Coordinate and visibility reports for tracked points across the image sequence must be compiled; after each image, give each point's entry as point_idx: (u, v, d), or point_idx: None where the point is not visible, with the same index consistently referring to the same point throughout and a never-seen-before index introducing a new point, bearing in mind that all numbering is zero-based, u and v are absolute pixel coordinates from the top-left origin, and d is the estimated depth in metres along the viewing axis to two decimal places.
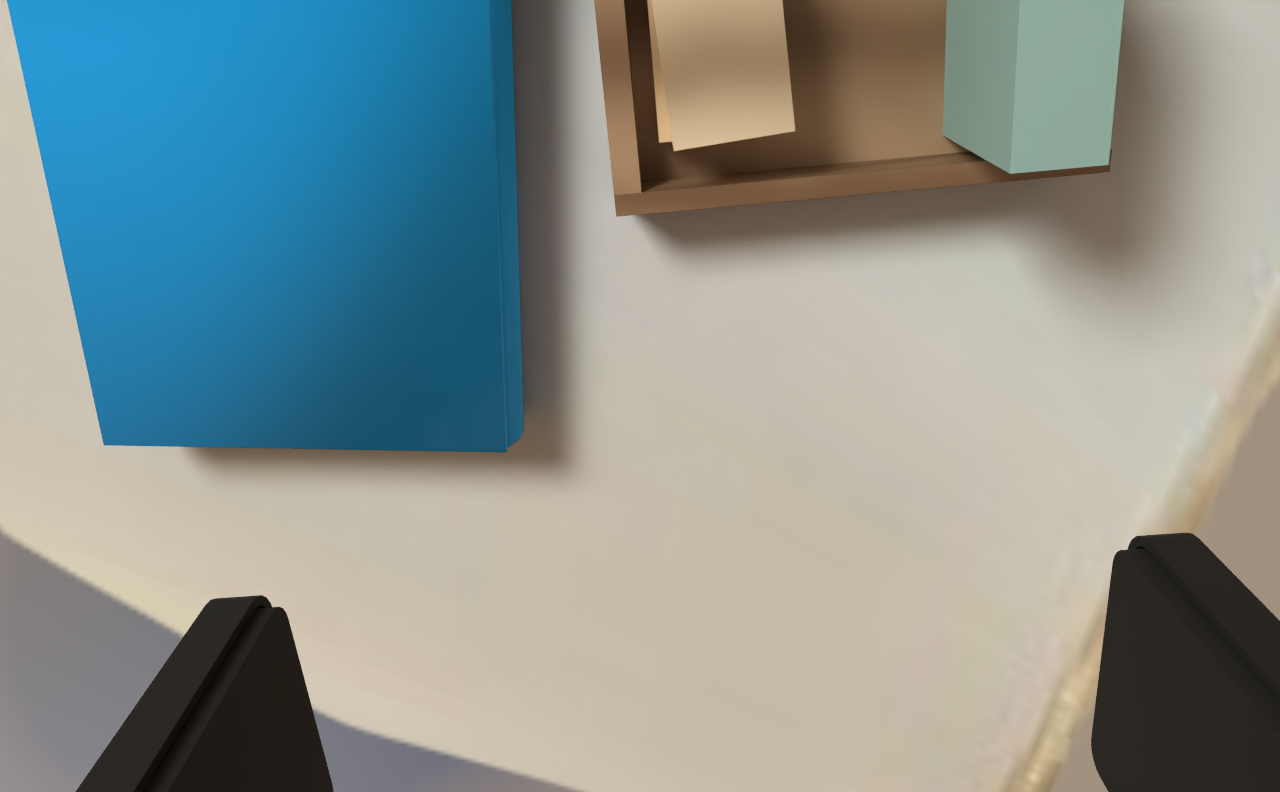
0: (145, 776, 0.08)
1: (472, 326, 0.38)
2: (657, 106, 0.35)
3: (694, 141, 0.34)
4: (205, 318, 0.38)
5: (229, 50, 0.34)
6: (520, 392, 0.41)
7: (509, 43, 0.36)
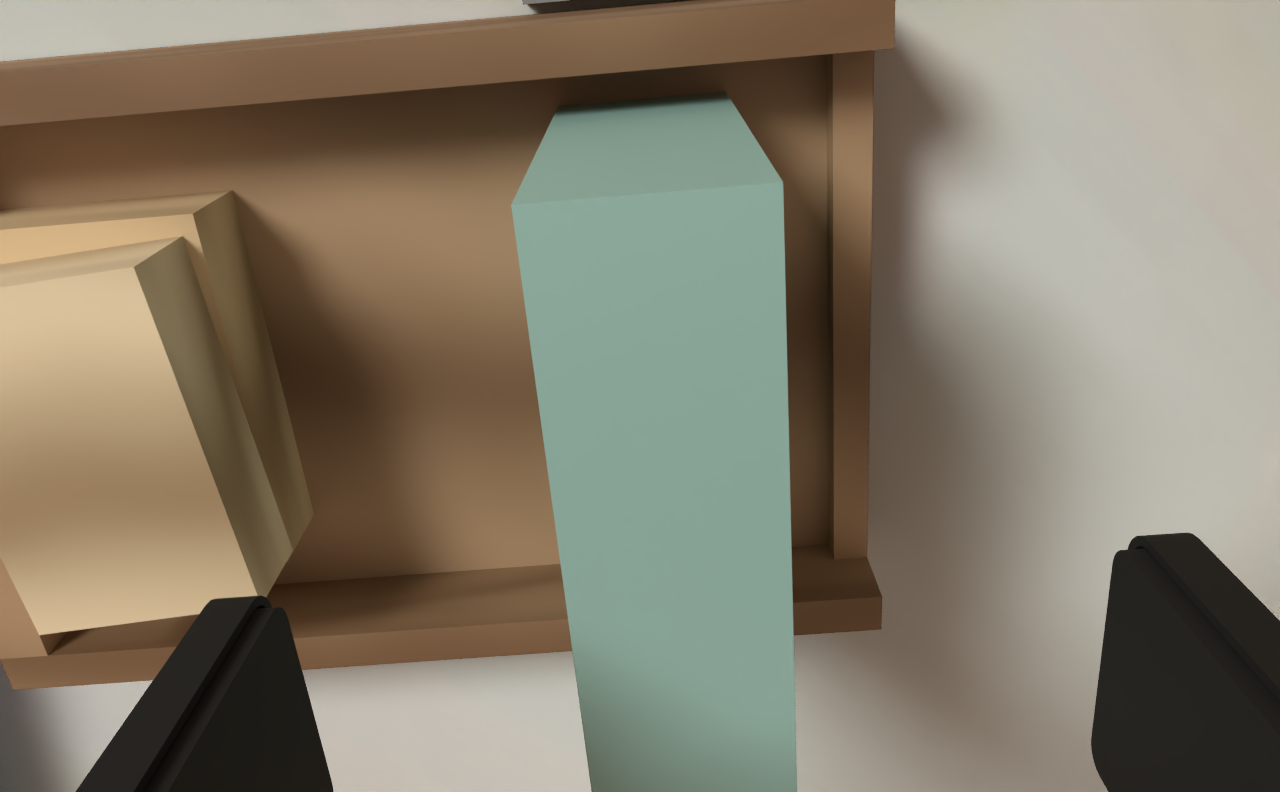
0: (144, 776, 0.08)
1: None
2: None
3: (73, 620, 0.18)
4: None
5: None
6: None
7: None
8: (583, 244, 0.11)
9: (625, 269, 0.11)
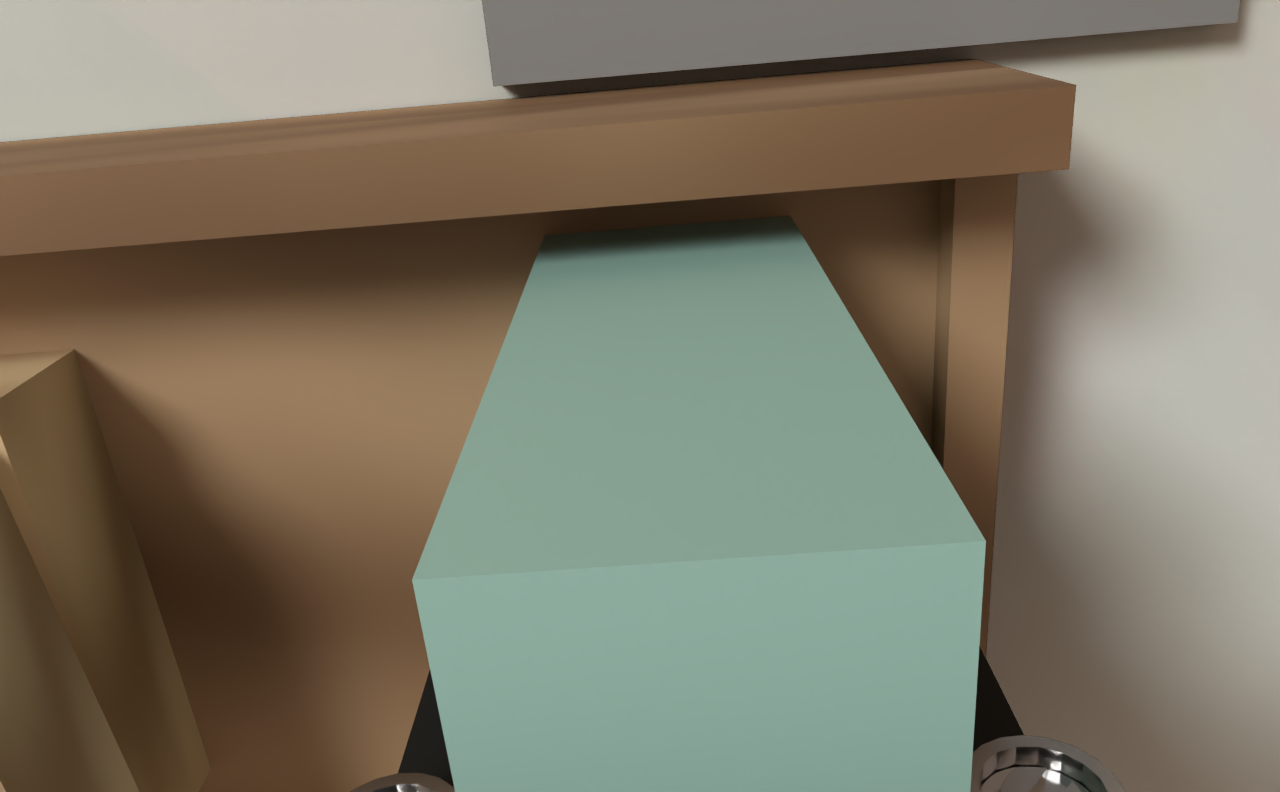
0: None
1: None
2: None
3: None
4: None
5: None
6: None
7: None
8: (563, 650, 0.05)
9: (648, 694, 0.06)
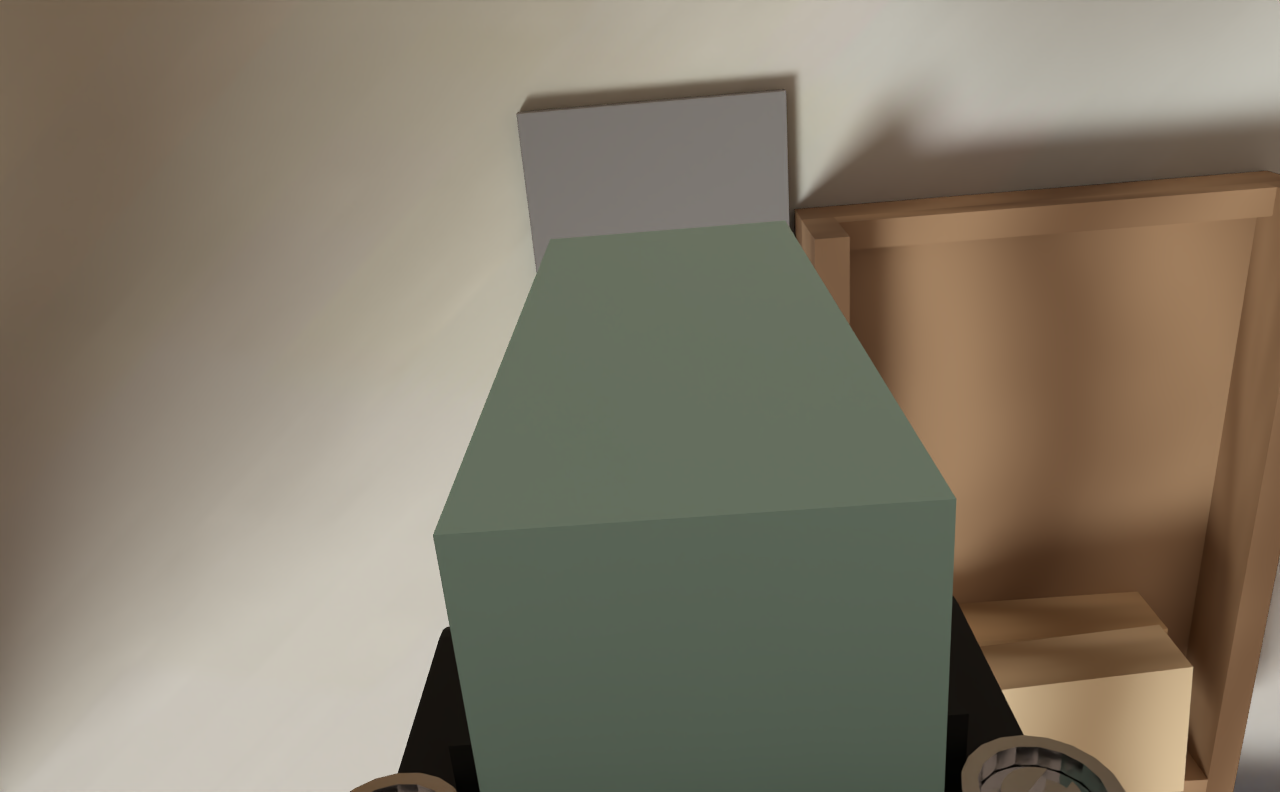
0: None
1: None
2: None
3: (1177, 771, 0.27)
4: None
5: None
6: None
7: None
8: (571, 601, 0.06)
9: (649, 642, 0.06)
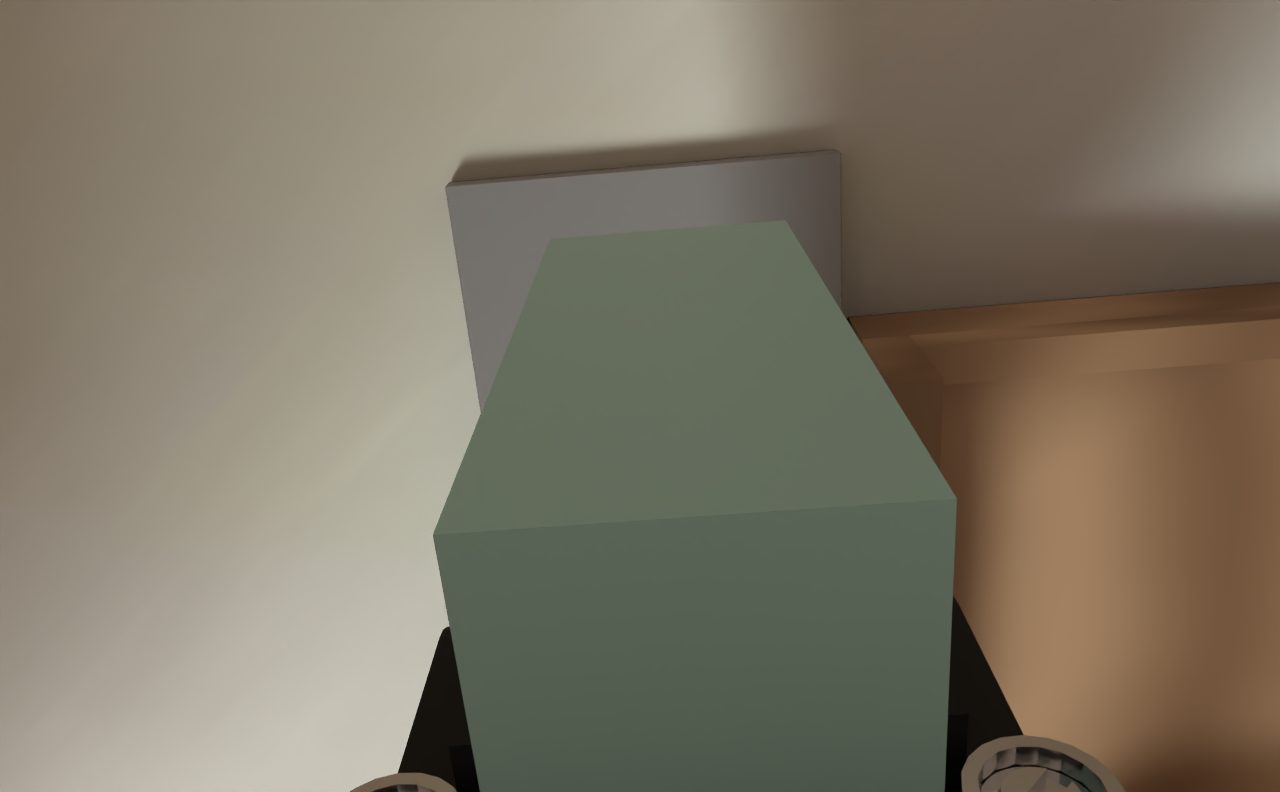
0: None
1: None
2: None
3: None
4: None
5: None
6: None
7: None
8: (570, 601, 0.06)
9: (649, 642, 0.06)
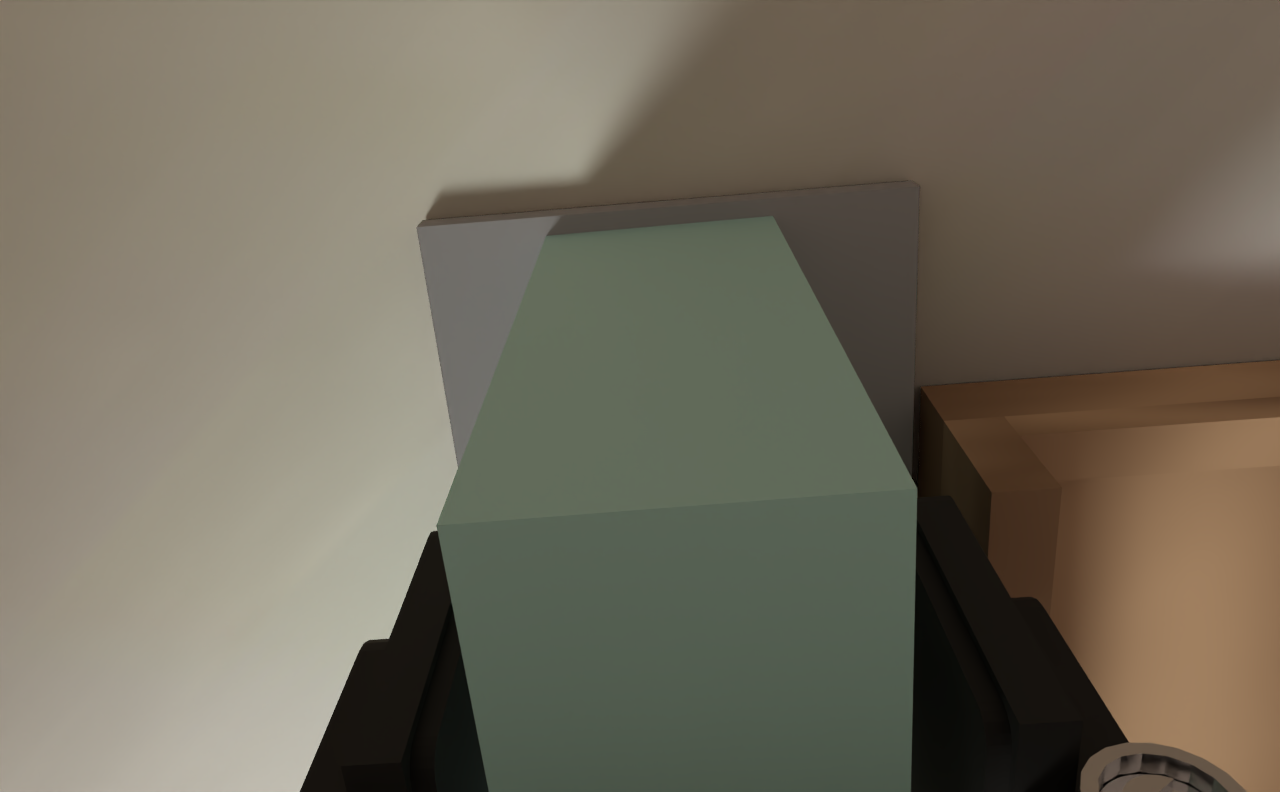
0: (425, 673, 0.09)
1: None
2: None
3: None
4: None
5: None
6: None
7: None
8: (564, 586, 0.06)
9: (636, 621, 0.07)
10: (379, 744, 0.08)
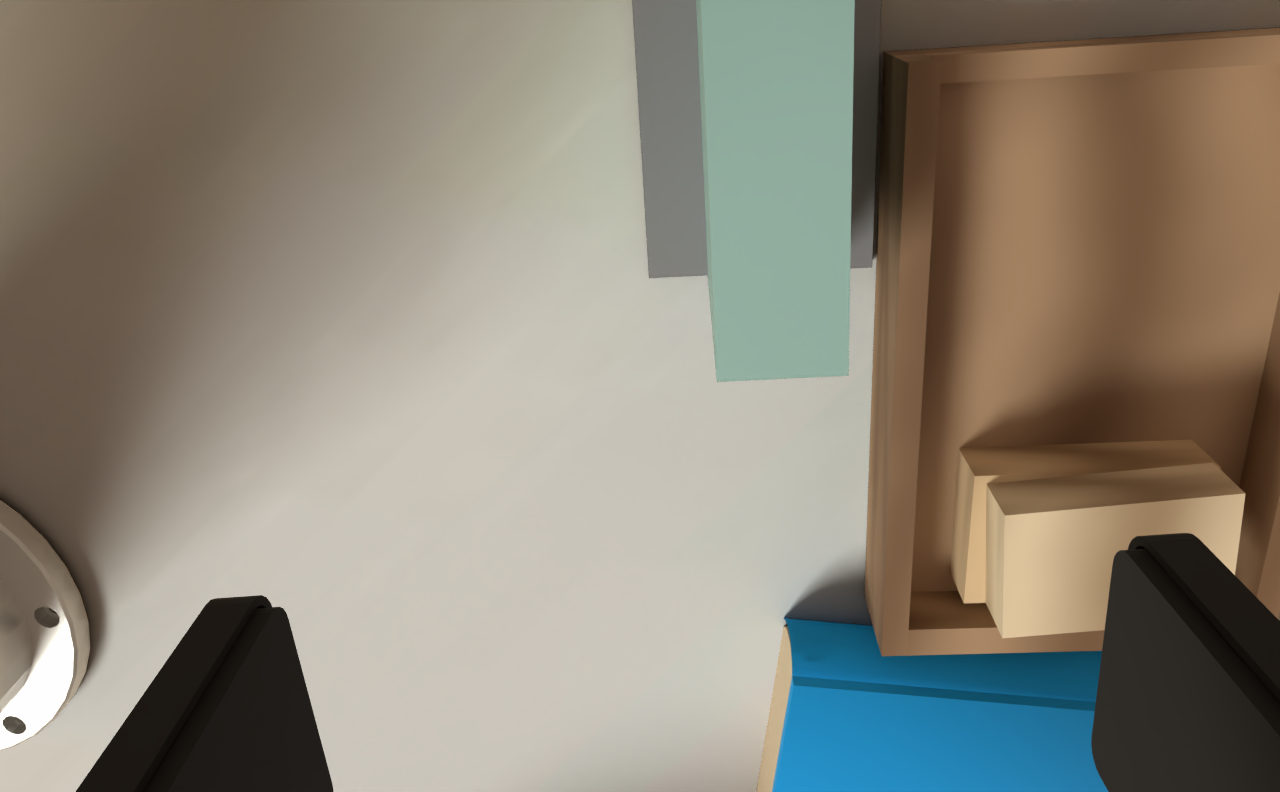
0: (145, 776, 0.08)
1: None
2: None
3: None
4: None
5: None
6: None
7: (1063, 666, 0.33)
8: None
9: None
10: None
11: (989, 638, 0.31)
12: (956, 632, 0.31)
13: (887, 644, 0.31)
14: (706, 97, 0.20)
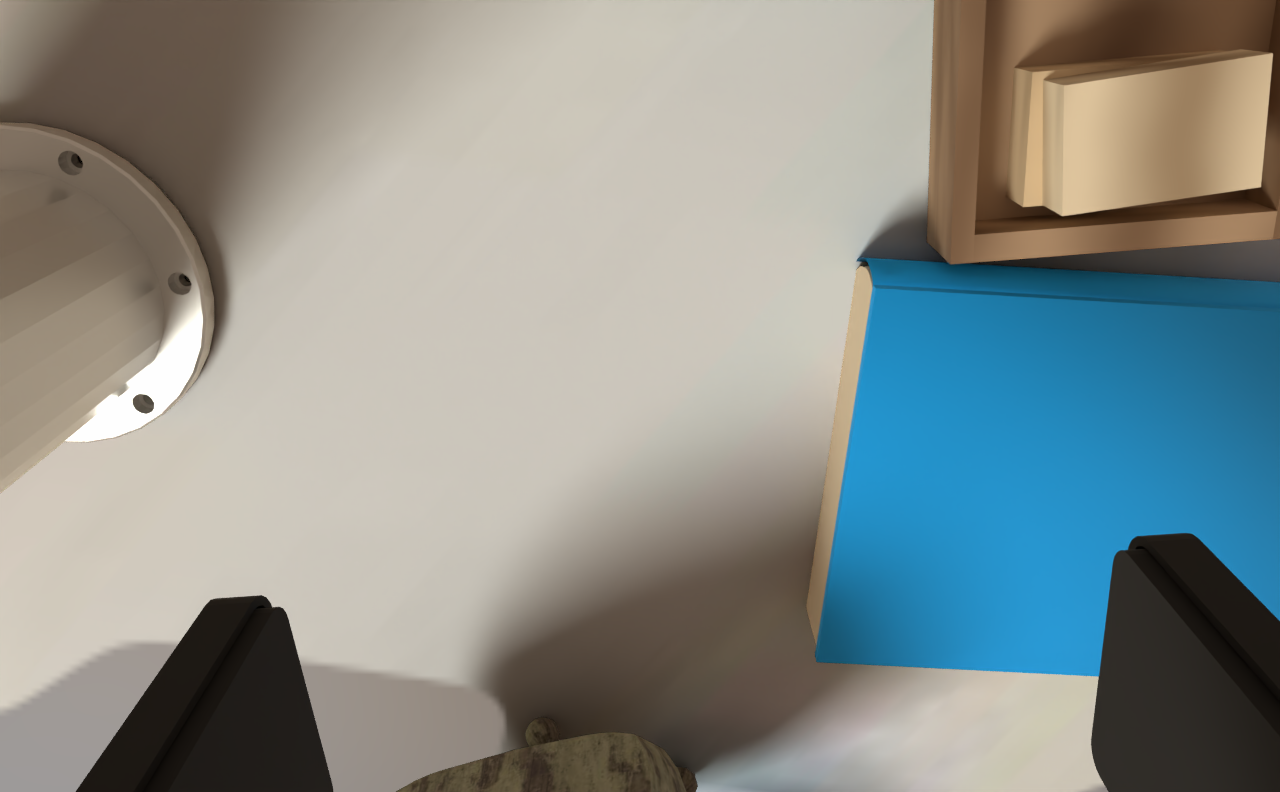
0: (145, 776, 0.08)
1: None
2: None
3: (1256, 165, 0.32)
4: None
5: (1079, 523, 0.39)
6: None
7: (1113, 278, 0.37)
8: None
9: None
10: None
11: (1046, 240, 0.35)
12: (1017, 235, 0.35)
13: (955, 251, 0.35)
14: None
